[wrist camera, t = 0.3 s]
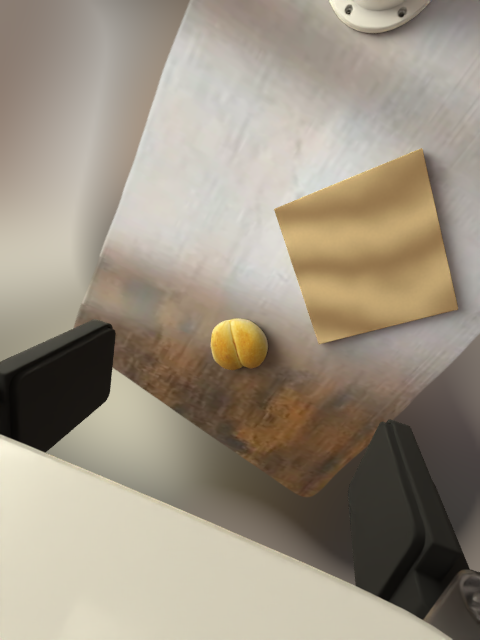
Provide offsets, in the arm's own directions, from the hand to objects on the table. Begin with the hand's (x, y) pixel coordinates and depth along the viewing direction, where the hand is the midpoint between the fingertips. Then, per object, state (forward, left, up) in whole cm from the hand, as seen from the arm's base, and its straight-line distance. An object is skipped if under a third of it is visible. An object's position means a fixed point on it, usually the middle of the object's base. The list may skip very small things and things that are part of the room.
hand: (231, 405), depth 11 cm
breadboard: (+2, +8, -37) cm, 38 cm away
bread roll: (+9, -13, -37) cm, 40 cm away
